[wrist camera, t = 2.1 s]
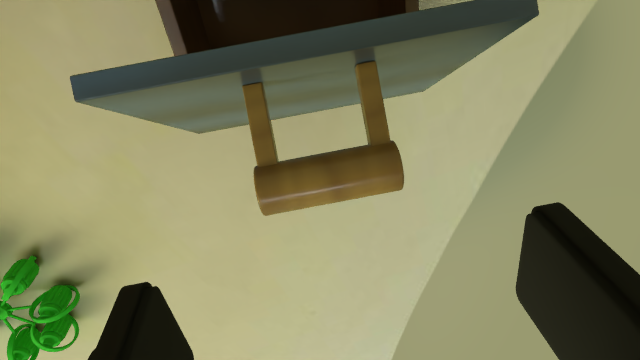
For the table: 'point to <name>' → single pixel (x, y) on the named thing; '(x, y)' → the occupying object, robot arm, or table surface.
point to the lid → (309, 91)
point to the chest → (262, 19)
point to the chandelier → (49, 312)
